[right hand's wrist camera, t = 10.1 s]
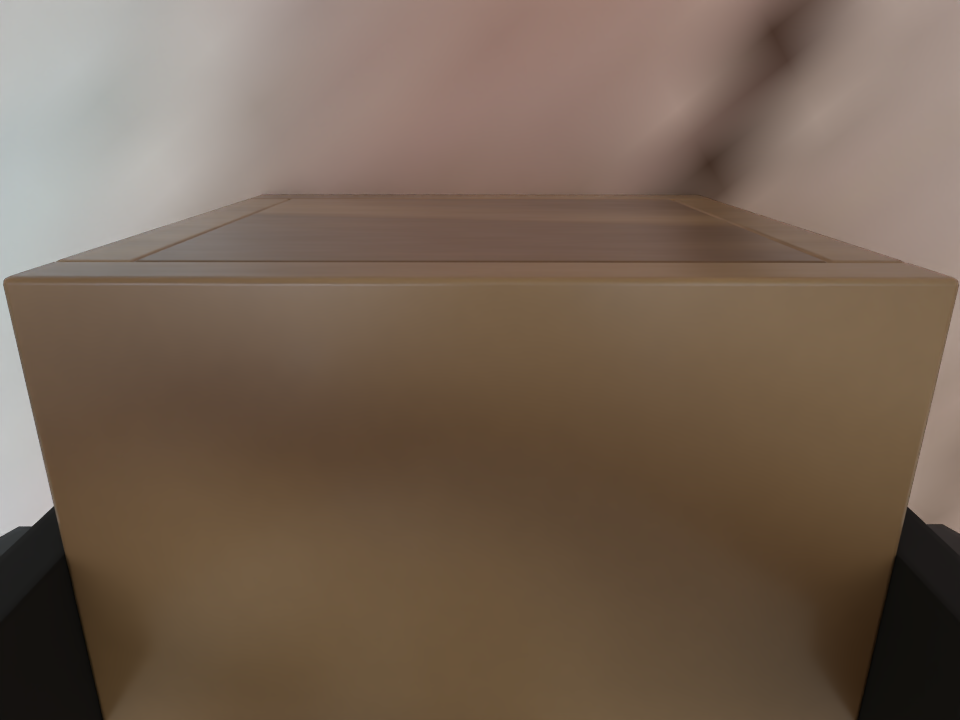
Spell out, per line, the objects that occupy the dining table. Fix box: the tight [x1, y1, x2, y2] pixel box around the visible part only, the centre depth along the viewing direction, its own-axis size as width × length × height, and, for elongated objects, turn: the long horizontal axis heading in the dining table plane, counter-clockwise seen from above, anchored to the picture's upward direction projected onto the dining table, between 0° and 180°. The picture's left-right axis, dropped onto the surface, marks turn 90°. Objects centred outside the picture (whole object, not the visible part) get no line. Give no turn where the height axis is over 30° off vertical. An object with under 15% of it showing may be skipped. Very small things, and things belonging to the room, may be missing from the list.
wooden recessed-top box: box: [3, 195, 959, 720], centre depth 15 cm, size 20×10×9 cm, turn 0°
